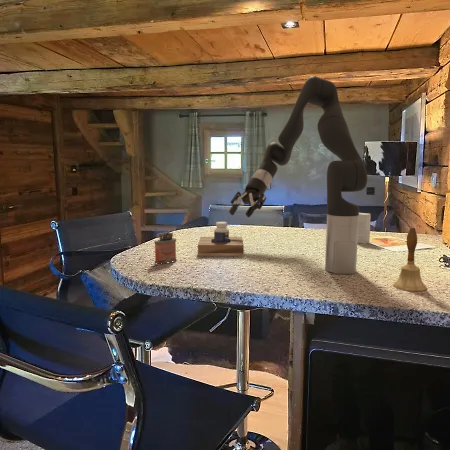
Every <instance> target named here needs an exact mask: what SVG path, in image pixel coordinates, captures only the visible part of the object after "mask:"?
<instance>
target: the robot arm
mask: <svg viewBox="0 0 450 450" xmlns="http://www.w3.org/2000/svg"><path fill="white" fill-rule="evenodd" d="M308 104H310V105H313V106H317V107H320V108H321V109H322V111H323V114H322V115H321V116H320V118H319V120H318V123H317V131H318V135H319V139H320V142H321V143H322V145H323V146H324V147H325V148H326V149H327V150H328V151H329V152H331V153H332V154H333V155H335V156H336V157H337V158H339V159H340V160H333V161H331V162H330V163H329V164H328V166H327V170H326V212H327V213H326V230H325V231H326V233H325V235H326V236H325V264H324V269H325V271H327V272H329V273H333V274H335V275H336V274H340V275H341V274H343V275H345V274H347V275H348V274H350V275H352V274H353V275H354V274H356V272H357V261H358V259H357V258H358V243H357V242H358V222H359V213H360V207H359V206H358V204H356V203H353V202H349V201H347V200H346V199H345V198H343V196H342V193H350V192H352V193H353V192H354V193H357V192H361V191H363V190H364V189H365V188H366V187H367V183H368V172H367V169H366V166H365V164H364V160H363V159H362V158H361V156H360V154H359V152H358V150H357V148H356V146H355V144H354V141H353V139H352V136H351V133H350V130H349V127H348V124H347V121H346V119H345V117H344V113H343V111H342V110H343V109H342V108H341V105H340V100H339V95H338V90H337V87H336V85H335V83H334V82H332V81H330V80H328V79H324V78H322V77H320V76H319V77H318V76H316V75H312V76H310V77H308V78H307V79H306V81H305V82H304V84H303V85H302V88H301V89H300V92H299V94H298V97H297V99H296V101H295V104H294V106H293V108H292V112H291V113H290V116H289V118H288V120H287V122H286V123H285V125H284V127H283V129H282V130H281V131H280V134H279V136H278V142H279V143H278V142H275V141H273V142H270V143H268V145H267V147H266V148H265V151H264V155H263V156H264V157H263V159H262V162H261V163H260V164H259V166H258V168H257V169H256V171H255V172H254V173H253V175H252V176H251V178H250V179H249V181H248V182H247V183H246V186H245V189H244V191H243V192H240V191H237V192H236V193H235V194H234V196H233V197H232V199H231V200H230V204H231V205H232V206H231V207H230V209H229V211H228V213H229V214H230V215H231V216H234V215H235V213H236V212H237V210H238V208H240V207H241V206H242V207H243V206H244V205H250V206H249V207H248V209H247V210H246V212H245V215H246V217H247V218H250V217H251V216H253V214H254V212H255V211H256V210H261V209H262V207H263V206H264V203H265V202H266V200H267V197H266V195H265V192H266V191H267V189H268V188H269V186H270V184H271V182H272V180H273V178H274V177H275V175H276V174H277V172H278V166H281V167H283V166H285V165H288V163H289V162H290V160H291V158H292V157H291V156H292V152H293V149H294V146H295V144H296V143H297V142H298V140H299V138H300V137H301V135H302V133H303V131H304V126H305V125H304V112H305V108H306V107H307V105H308ZM277 165H278V166H277Z"/></svg>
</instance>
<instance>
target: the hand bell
mask: <svg viewBox="0 0 450 450" xmlns="http://www.w3.org/2000/svg"><path fill="white" fill-rule="evenodd" d="M417 244H418V234H417V231H416V228H415V227H409V230H408V232H407V236H406V247H407V263H406V264H405V265H402V266H401V269H400V273H399V277H398V278H397V280H395V281H394V282H393V284H392V286H393V287H394V288H395V287H396V289H398V288H399V289H398V290H401V289H403V290H402V291H406V290H407V292H423V291H425V290H427V289H428V288H427V285H426V284H425V283H424V281H423V280H422V278H421V277H422V276H421V268H420V267H419V266H417V265H416V264H415V250H416V248H417Z"/></svg>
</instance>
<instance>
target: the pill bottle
mask: <svg viewBox="0 0 450 450" xmlns="http://www.w3.org/2000/svg"><path fill="white" fill-rule="evenodd" d="M215 226H216V227H215V228H214V230H213V232H214V233H213V234H214V236H213V237H214V243H229V237H230V230H229V228H228V222H226V221H216V223H215Z"/></svg>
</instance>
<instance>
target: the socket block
mask: <svg viewBox="0 0 450 450" xmlns="http://www.w3.org/2000/svg"><path fill="white" fill-rule="evenodd" d="M244 248H245V247H244V241H243V237H242V236H229V243H214V236H200V238H199V241H198V243H197V256H198V257H244V254H245V253H244V251H245V249H244Z"/></svg>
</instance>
